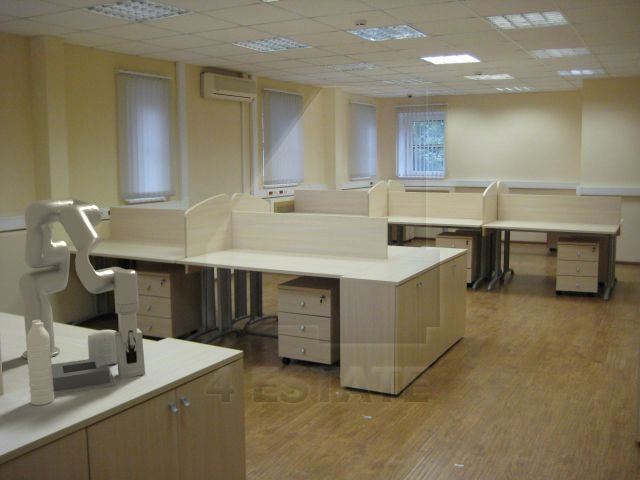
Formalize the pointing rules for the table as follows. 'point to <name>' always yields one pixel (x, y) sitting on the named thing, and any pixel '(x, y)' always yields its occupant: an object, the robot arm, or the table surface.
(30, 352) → the water bottle
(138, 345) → the skincare box
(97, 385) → the dock
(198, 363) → the table surface
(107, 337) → the photo printer
